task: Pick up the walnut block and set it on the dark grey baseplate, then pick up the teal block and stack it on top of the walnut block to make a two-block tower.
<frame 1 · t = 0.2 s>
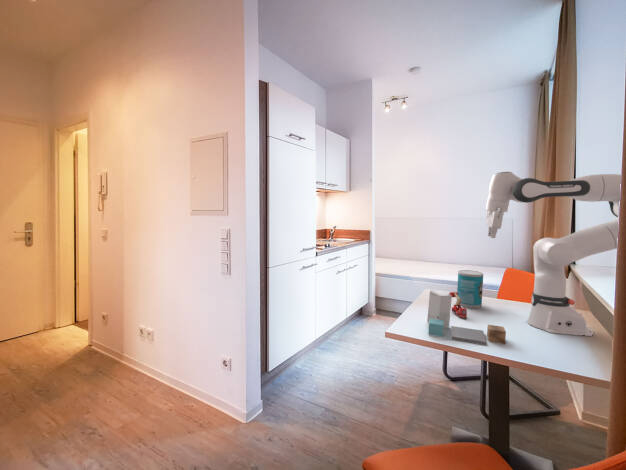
hand: (491, 237, 142), 39 cm above the table, tool pointing down, fingers open, 8 cm apart
baseplate: (467, 336, 124), on the table
walnut brick: (495, 340, 121), on the table
teal block: (435, 333, 127), on the table
toy fire truck: (457, 314, 151), on the table
food can: (468, 305, 165), on the table
skincare box: (438, 325, 136), on the table
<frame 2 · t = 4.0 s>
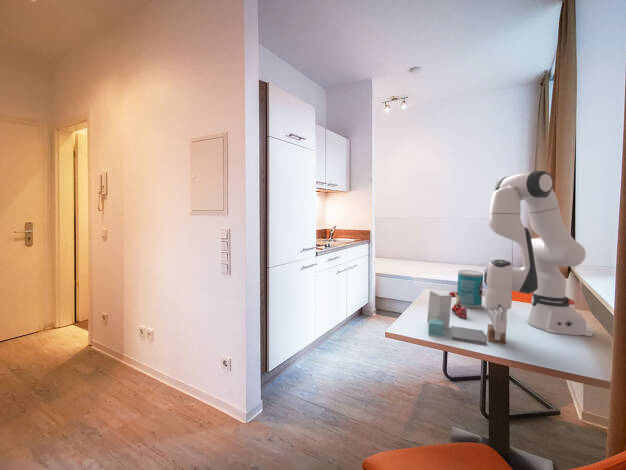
hand: (495, 335, 121), 2 cm above the table, tool pointing down, fingers closed on walnut brick, 5 cm apart
walnut brick: (495, 339, 121), on the table, touching gripper
everything else where it was.
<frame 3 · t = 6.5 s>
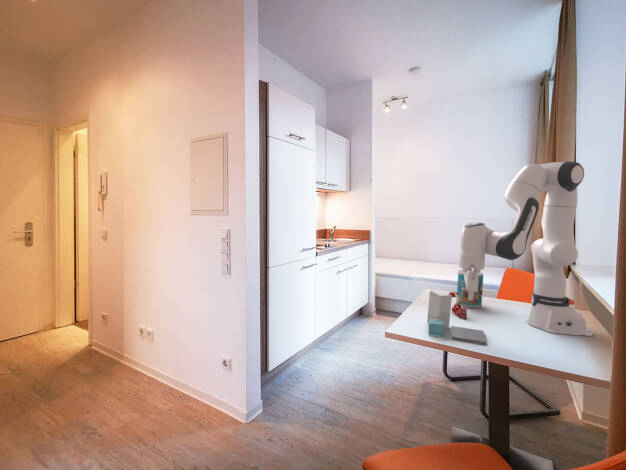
hand: (469, 297, 123), 16 cm above the table, tool pointing down, fingers closed on walnut brick, 5 cm apart
walnut brick: (469, 301, 123), point 15 cm above the table, touching gripper
everything else where it was.
when the fingers open (4 cm above the table, at t = 9.0 s): walnut brick drops 1 cm, resting on baseplate.
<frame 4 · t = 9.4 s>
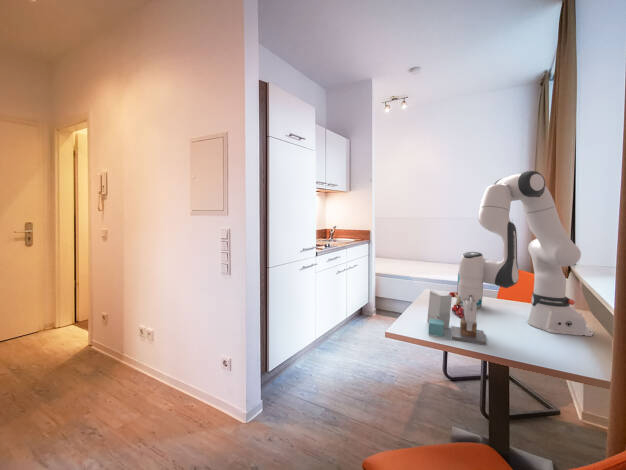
hand: (468, 326, 124), 4 cm above the table, tool pointing down, fingers open, 8 cm apart
walnut brick: (467, 333, 124), point 1 cm above the table, touching baseplate
everything else where it was.
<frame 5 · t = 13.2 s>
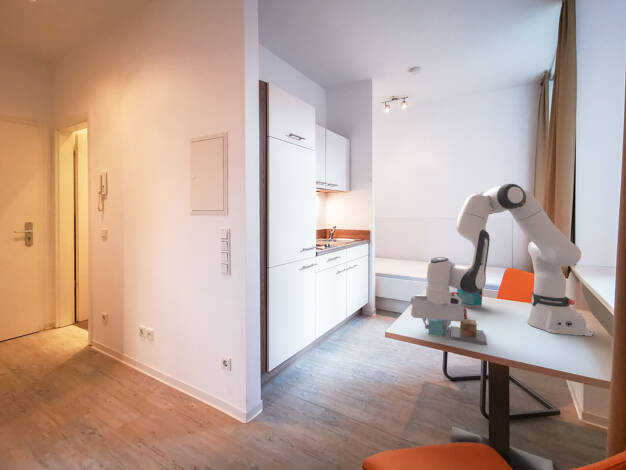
hand: (435, 329, 127), 2 cm above the table, tool pointing down, fingers closed on teal block, 6 cm apart
teal block: (435, 333, 127), on the table, touching gripper
everything else where it was.
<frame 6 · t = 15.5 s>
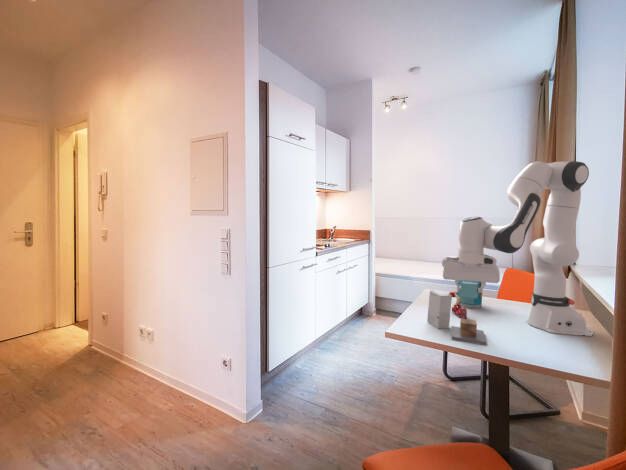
hand: (469, 291, 123), 18 cm above the table, tool pointing down, fingers closed on teal block, 6 cm apart
teal block: (469, 295, 123), point 17 cm above the table, touching gripper
everything else where it was.
when the fingers open (9 cm above the table, at t = 17.9 s): teal block drops 1 cm, resting on walnut brick.
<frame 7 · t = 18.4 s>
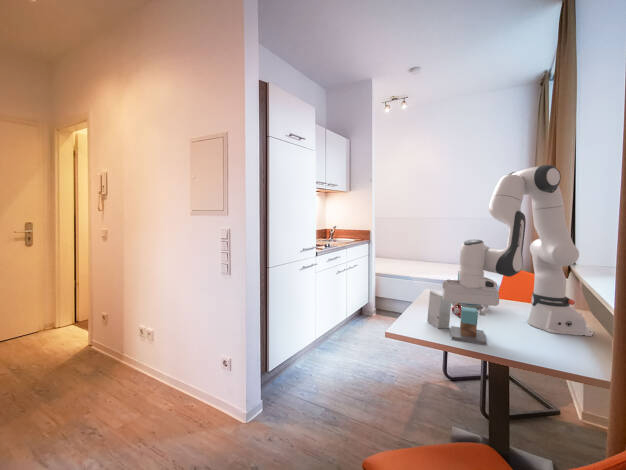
hand: (469, 314, 123), 9 cm above the table, tool pointing down, fingers open, 8 cm apart
walnut brick: (467, 333, 124), point 1 cm above the table, touching baseplate, teal block
teal block: (468, 321, 124), point 6 cm above the table, touching walnut brick
everything else where it was.
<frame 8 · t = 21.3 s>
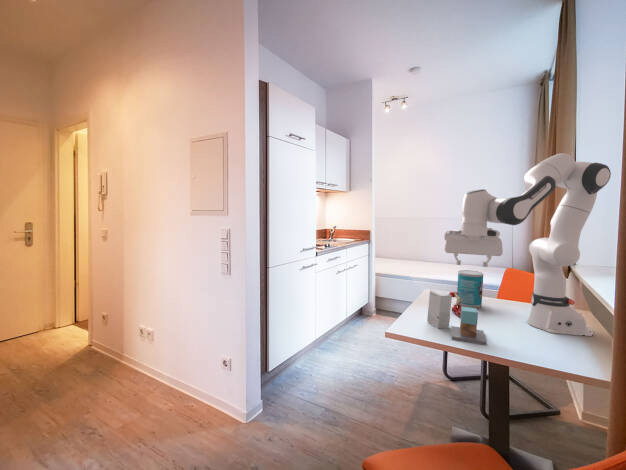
hand: (471, 265, 122), 29 cm above the table, tool pointing down, fingers open, 8 cm apart
nothing on the table moved.
at the end: walnut brick 0.1 cm off-centre on the baseplate, point 1.2 cm above the baseplate's base; teal block 0.1 cm off-centre on the walnut brick, point 5.0 cm above the walnut brick's base; teal block tilted 0° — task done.
